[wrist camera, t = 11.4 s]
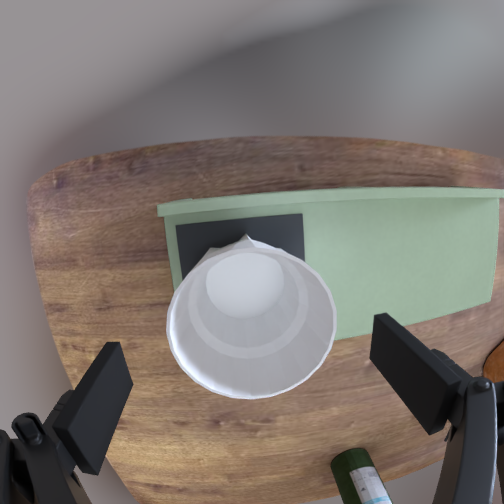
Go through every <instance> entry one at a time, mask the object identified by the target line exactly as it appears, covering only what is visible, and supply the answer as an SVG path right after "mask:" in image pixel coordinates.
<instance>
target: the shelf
mask: <svg viewBox="0 0 504 504" xmlns="http://www.w3.org/2000/svg"><path fill="white" fill-rule="evenodd" d="M499 198H504V190H502V189H491V188H478V187H463V186H451V187H338V188H333V189H312V190H295V191H280V192H266V193H254V194H242V195H231V196H221V197H211V198H201V199H192V198H188V199H180V200H175V201H171V202H167V203H162V204H158V205H157V213H158V217H163V216H164V224H165V232H166V240H167V248H168V255H169V262H170V268H171V275H172V281H173V287H174V292H175V291H176V289H177V288H178V287H179V285H180V284H181V283H182V281H183V280H184V279H185V277H186V276H187V275H188V274H189V272H190V271H191V270H192V269H193V268H194V267H195V266H196V265H197V263H198V262H199V261H200V260H201V259H202V258H203V256H204V255H205V254H206V252H207V251H208V250H209V249H210V248H222V247H225V246H227V245H230V244H232V243H235V242H237V241H239V240H240V239H241V238H242V237H243V236H244V235H245V234H247V235H248V236H249V237H250V239H251V240H255V241H258V242H262V243H265V244H267V245H270V246H272V247H274V248H281V249H282V250H284V251H285V252H287V253H288V254H290V255H293V256H295V257H297V258H299V259H301V260H303V261H304V262H305V263H306V264H308V265H309V266H310V267H311V268H312V269H314V270H315V271H316V272H317V273H318V274H319V275H320V276H321V277H322V279H323V280H324V282H325V283H326V285H327V286H328V288H329V289H330V291H331V293H332V297H333V300H334V303H335V307H336V310H337V331H336V334H335V338H334V340H339V339H345V338H350V337H355V336H360V335H365V334H370V333H372V331H373V320H374V315H376V314H381V313H388V314H389V315H390V316H391V317H392V318H394V319H395V320H396V321H397V322H398V323H399V324H401V325H402V326H406V325H410V324H414V323H418V322H422V321H426V320H430V319H434V318H437V317H441V316H444V315H448V314H451V313H455V312H458V311H462V310H465V309H468V308H471V307H475V306H478V305H481V304H484V303H487V302H490V300H491V294H492V288H493V281H494V274H495V265H496V256H497V244H498V228H499Z"/></svg>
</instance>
